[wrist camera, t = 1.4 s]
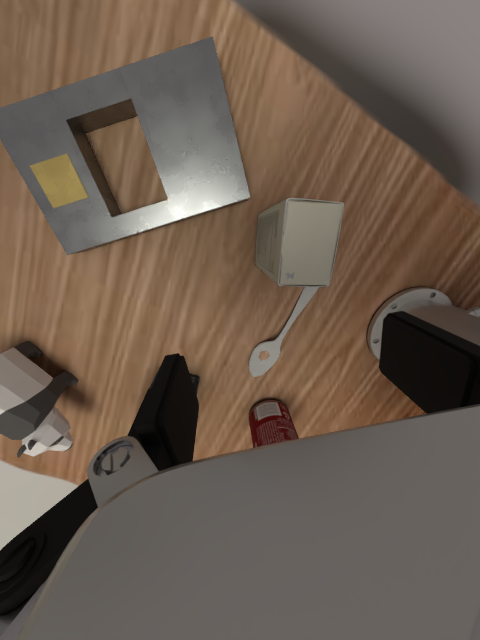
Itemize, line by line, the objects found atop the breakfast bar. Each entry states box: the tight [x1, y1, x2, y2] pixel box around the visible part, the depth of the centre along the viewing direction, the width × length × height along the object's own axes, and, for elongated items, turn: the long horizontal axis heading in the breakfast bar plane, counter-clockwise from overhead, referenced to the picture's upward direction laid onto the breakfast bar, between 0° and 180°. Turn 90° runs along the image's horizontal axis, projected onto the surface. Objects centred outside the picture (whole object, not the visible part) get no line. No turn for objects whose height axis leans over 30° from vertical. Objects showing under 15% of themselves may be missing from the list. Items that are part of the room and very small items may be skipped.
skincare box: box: [255, 198, 344, 287], centre depth 22 cm, size 6×4×12 cm
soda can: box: [249, 400, 299, 448], centre depth 33 cm, size 7×7×12 cm
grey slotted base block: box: [0, 36, 250, 255], centre depth 22 cm, size 20×12×3 cm, turn 106°
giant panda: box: [0, 341, 78, 457], centre depth 28 cm, size 15×6×10 cm, turn 33°
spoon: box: [249, 287, 319, 377], centre depth 32 cm, size 4×21×2 cm, turn 149°
